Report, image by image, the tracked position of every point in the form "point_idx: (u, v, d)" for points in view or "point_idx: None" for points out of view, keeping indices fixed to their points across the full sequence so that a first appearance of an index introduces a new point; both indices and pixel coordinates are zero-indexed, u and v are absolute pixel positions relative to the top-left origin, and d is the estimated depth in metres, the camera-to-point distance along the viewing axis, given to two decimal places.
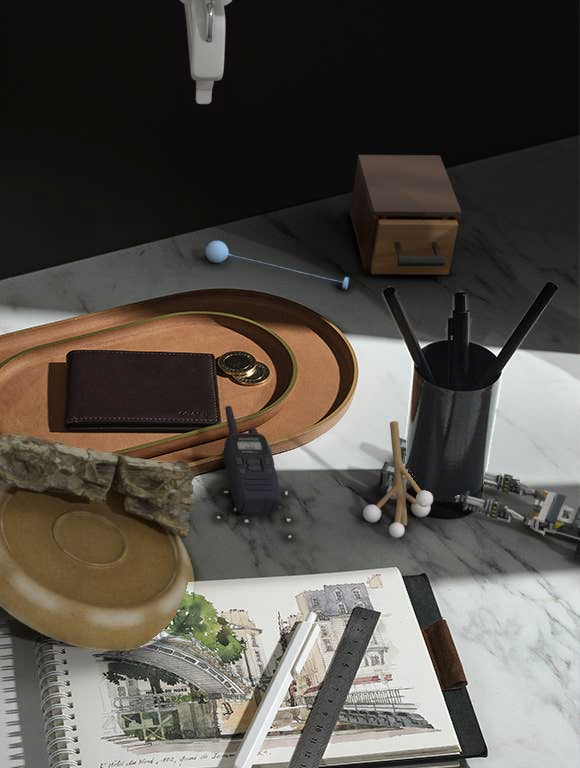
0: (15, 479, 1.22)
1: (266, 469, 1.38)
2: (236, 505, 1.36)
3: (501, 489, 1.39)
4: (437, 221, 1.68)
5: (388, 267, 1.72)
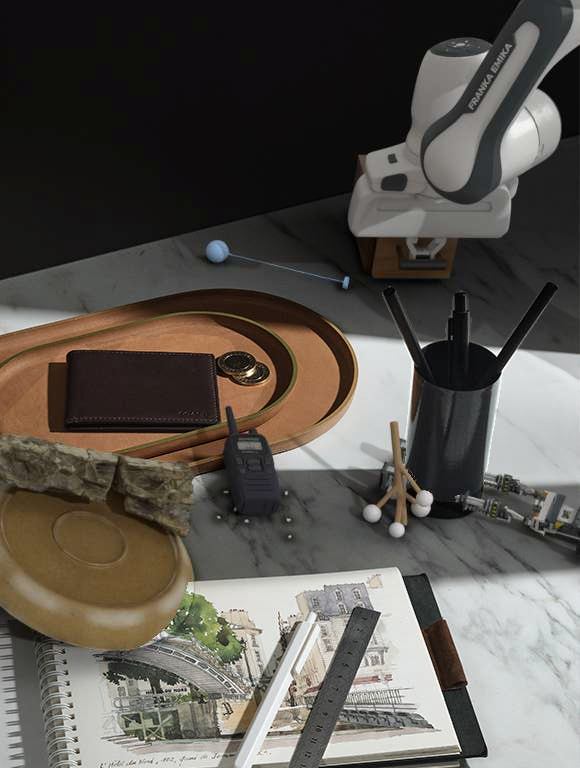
0: (15, 479, 1.22)
1: (266, 469, 1.38)
2: (236, 505, 1.36)
3: (501, 489, 1.39)
4: None
5: (389, 271, 1.71)
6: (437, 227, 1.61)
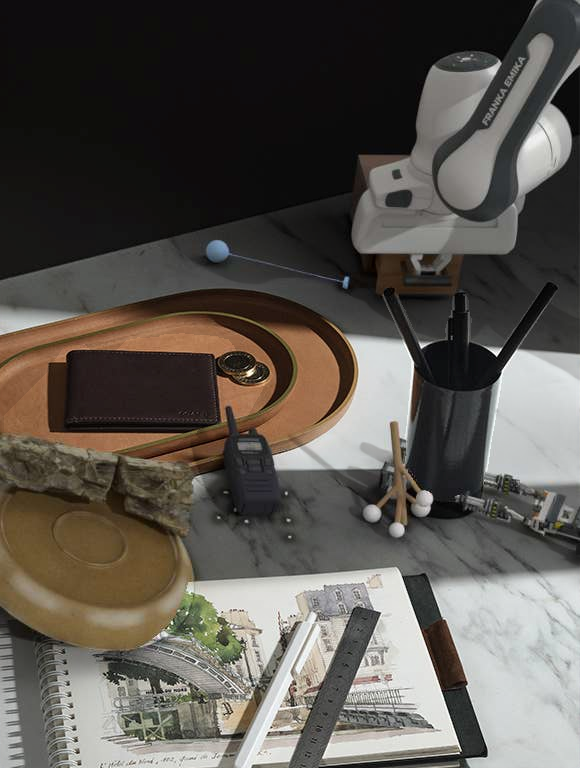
0: (15, 479, 1.22)
1: (266, 470, 1.38)
2: (236, 506, 1.36)
3: (501, 489, 1.39)
4: None
5: (394, 287, 1.68)
6: (442, 243, 1.59)
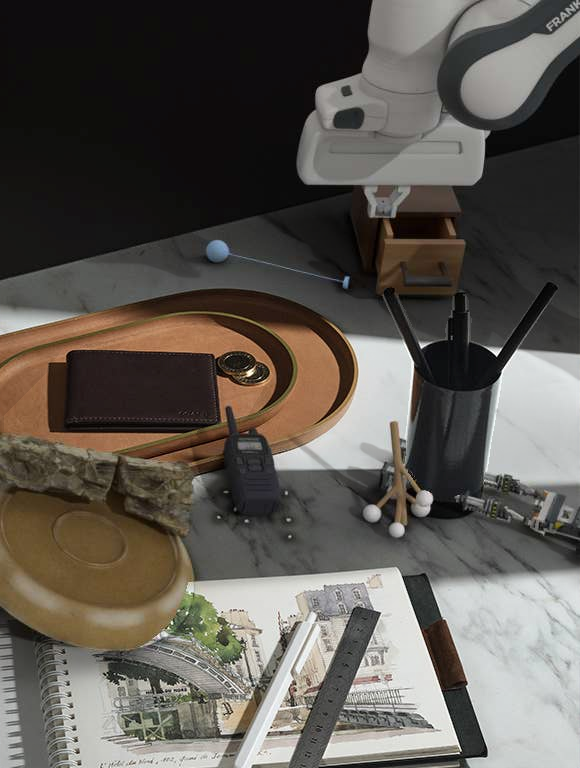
0: (15, 479, 1.22)
1: (266, 469, 1.38)
2: (237, 505, 1.36)
3: (501, 489, 1.39)
4: (444, 240, 1.64)
5: (394, 287, 1.68)
6: (400, 173, 1.39)
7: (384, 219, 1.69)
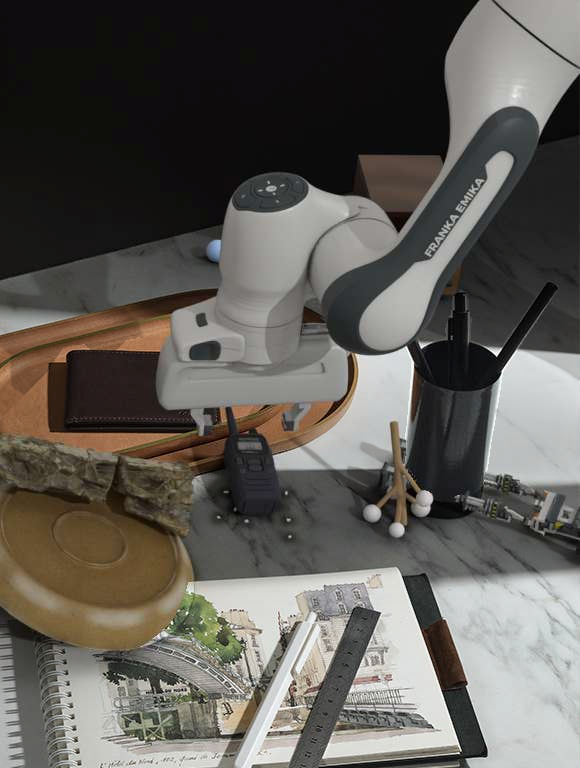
0: (15, 479, 1.22)
1: (266, 469, 1.38)
2: (237, 505, 1.36)
3: (501, 489, 1.39)
4: None
5: None
6: (262, 394, 1.33)
7: None
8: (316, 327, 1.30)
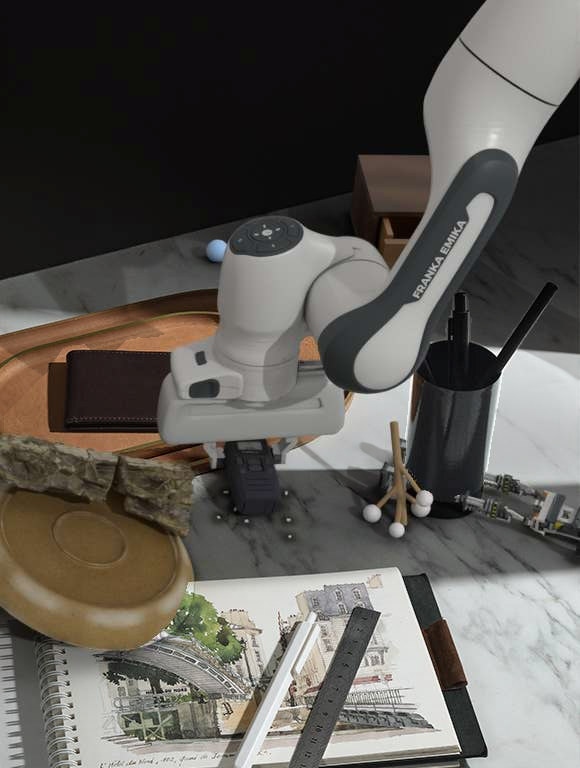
0: (15, 479, 1.22)
1: (266, 469, 1.38)
2: (237, 505, 1.36)
3: (501, 489, 1.39)
4: None
5: None
6: (261, 429, 1.37)
7: (384, 219, 1.69)
8: (313, 364, 1.33)
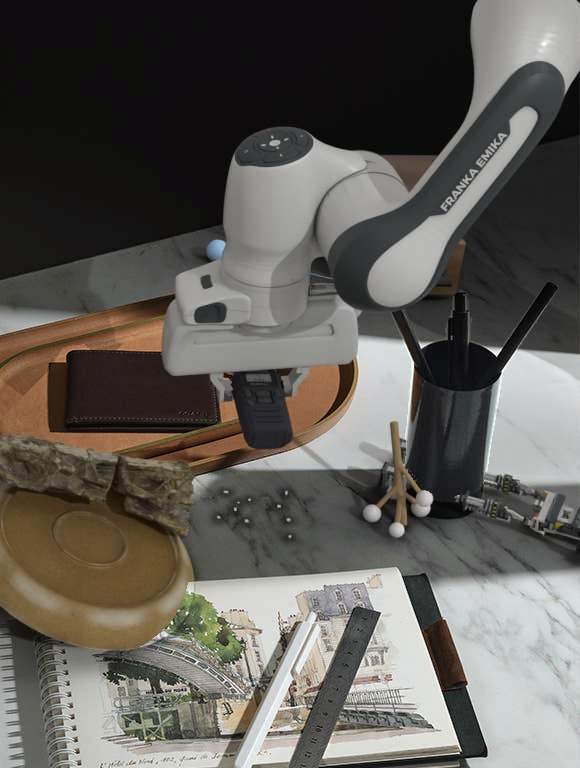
0: (15, 479, 1.22)
1: (276, 401, 1.32)
2: (246, 438, 1.30)
3: (501, 489, 1.39)
4: None
5: None
6: (270, 358, 1.30)
7: None
8: (324, 287, 1.27)
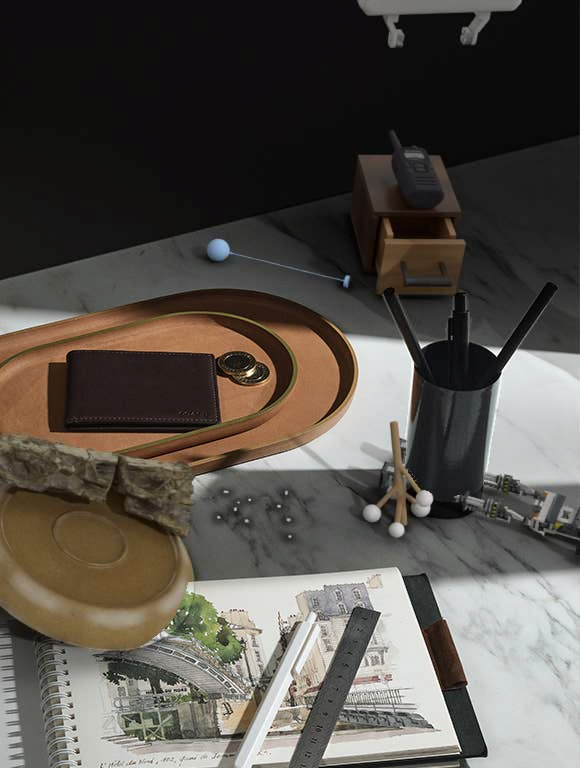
0: (15, 479, 1.22)
1: (429, 171, 1.69)
2: (408, 197, 1.67)
3: (501, 489, 1.39)
4: (444, 240, 1.64)
5: (394, 287, 1.68)
6: (451, 0, 1.56)
7: (384, 219, 1.69)
8: None
